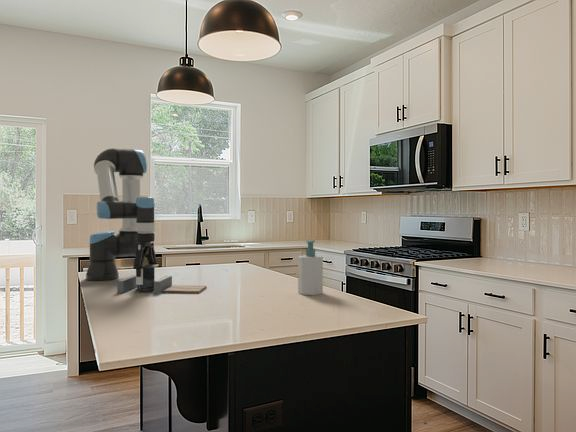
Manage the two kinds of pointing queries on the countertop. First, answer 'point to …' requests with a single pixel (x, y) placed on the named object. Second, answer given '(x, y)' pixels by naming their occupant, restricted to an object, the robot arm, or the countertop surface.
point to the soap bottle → (310, 272)
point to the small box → (147, 279)
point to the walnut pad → (184, 289)
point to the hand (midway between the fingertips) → (145, 282)
